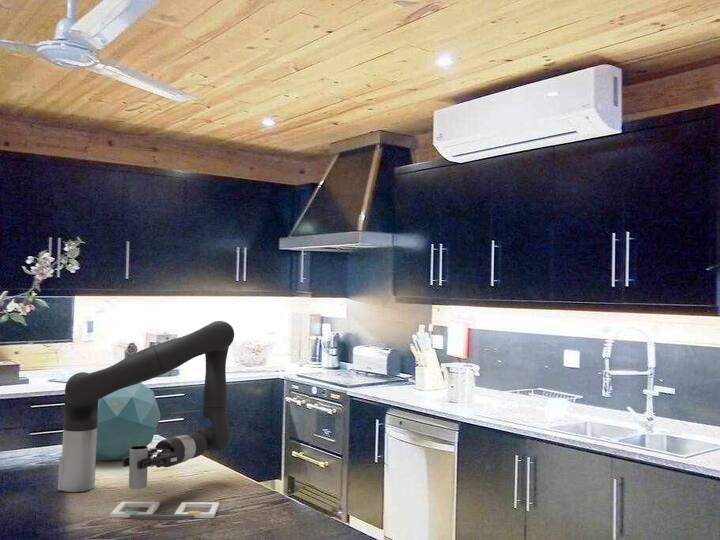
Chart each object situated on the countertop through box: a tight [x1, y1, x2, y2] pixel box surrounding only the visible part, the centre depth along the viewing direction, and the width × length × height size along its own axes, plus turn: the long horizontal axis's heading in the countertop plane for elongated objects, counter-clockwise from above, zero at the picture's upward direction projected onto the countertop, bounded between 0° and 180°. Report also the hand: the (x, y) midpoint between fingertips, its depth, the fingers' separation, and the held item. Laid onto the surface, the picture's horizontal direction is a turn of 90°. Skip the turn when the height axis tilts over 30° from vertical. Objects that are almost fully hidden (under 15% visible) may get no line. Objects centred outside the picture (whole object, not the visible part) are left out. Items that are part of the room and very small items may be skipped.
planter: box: [128, 445, 149, 490], centre depth 177 cm, size 4×4×10 cm
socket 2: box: [173, 501, 220, 519], centre depth 178 cm, size 10×10×1 cm
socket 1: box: [109, 501, 160, 519], centre depth 177 cm, size 10×10×1 cm
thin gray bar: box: [128, 514, 195, 520], centre depth 172 cm, size 16×1×1 cm, turn 94°
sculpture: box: [96, 382, 161, 462], centre depth 233 cm, size 29×29×30 cm
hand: (131, 464), depth 175 cm, fingers closed on planter, 4 cm apart
